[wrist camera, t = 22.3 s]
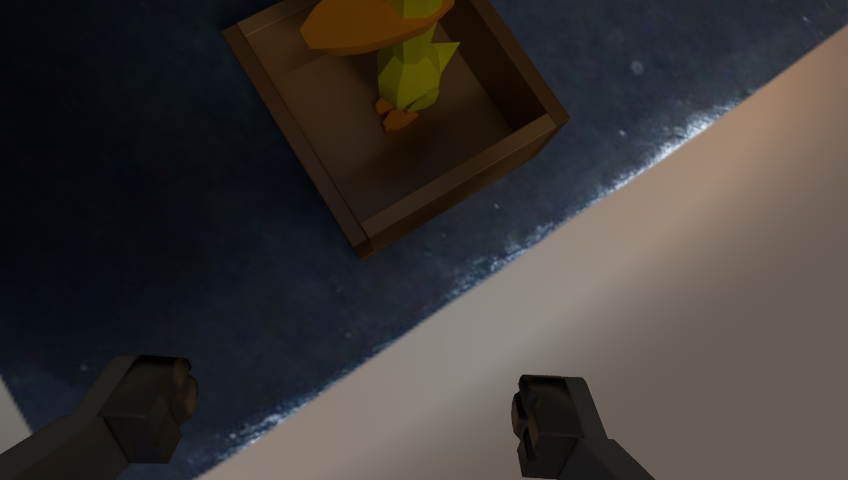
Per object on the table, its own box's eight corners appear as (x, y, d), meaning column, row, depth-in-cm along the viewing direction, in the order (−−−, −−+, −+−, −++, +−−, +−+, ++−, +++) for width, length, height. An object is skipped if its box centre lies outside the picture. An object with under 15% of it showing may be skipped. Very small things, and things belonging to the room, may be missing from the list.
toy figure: (350, 166, 23) (303, 7, 11) (322, 109, 23) (248, -103, 11) (462, 117, 24) (531, -79, 12) (433, 62, 24) (471, -179, 12)
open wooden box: (360, 261, 23) (352, 248, 18) (254, 86, 24) (219, 30, 19) (537, 155, 24) (571, 117, 20) (428, -4, 26) (436, -75, 21)
